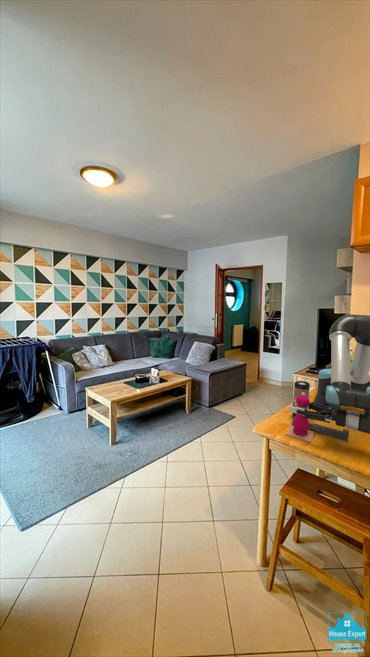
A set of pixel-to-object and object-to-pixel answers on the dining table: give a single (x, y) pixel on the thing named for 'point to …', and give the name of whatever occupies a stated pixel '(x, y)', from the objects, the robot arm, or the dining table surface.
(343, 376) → the robot arm
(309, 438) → the end tile
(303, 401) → the pepper mill
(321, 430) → the handrail
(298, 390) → the travel mug
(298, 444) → the dining table surface
